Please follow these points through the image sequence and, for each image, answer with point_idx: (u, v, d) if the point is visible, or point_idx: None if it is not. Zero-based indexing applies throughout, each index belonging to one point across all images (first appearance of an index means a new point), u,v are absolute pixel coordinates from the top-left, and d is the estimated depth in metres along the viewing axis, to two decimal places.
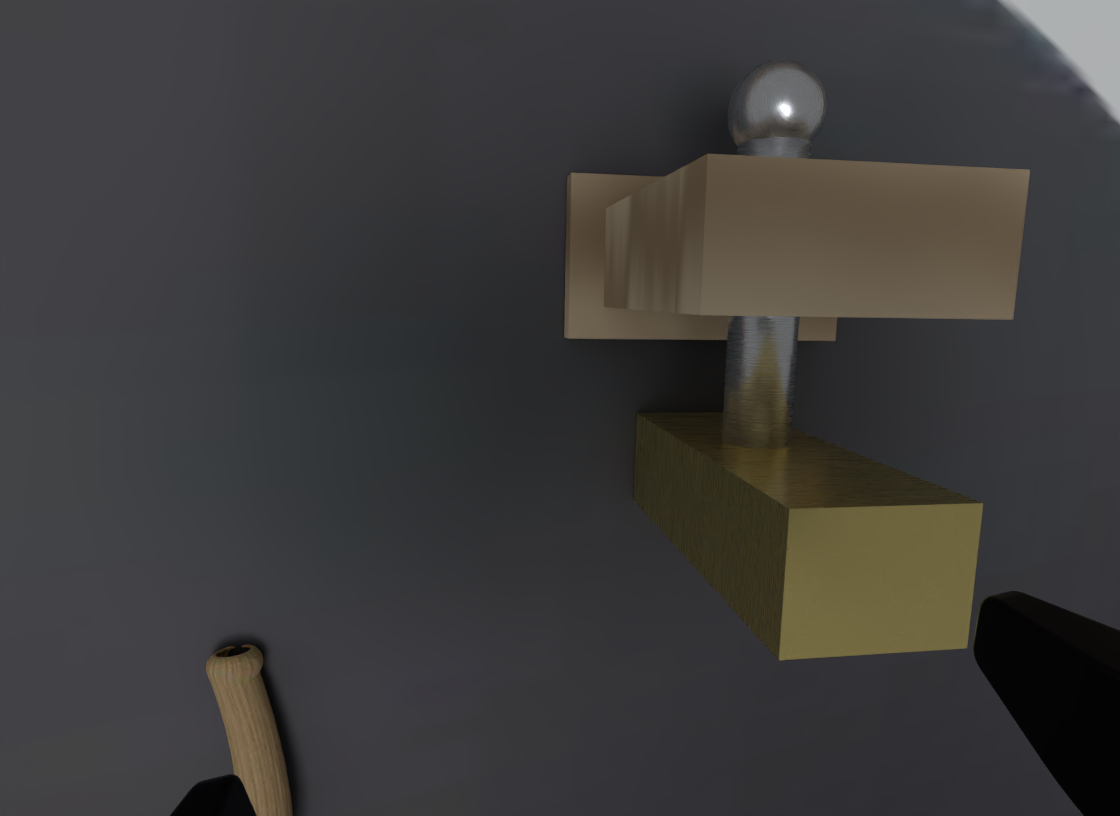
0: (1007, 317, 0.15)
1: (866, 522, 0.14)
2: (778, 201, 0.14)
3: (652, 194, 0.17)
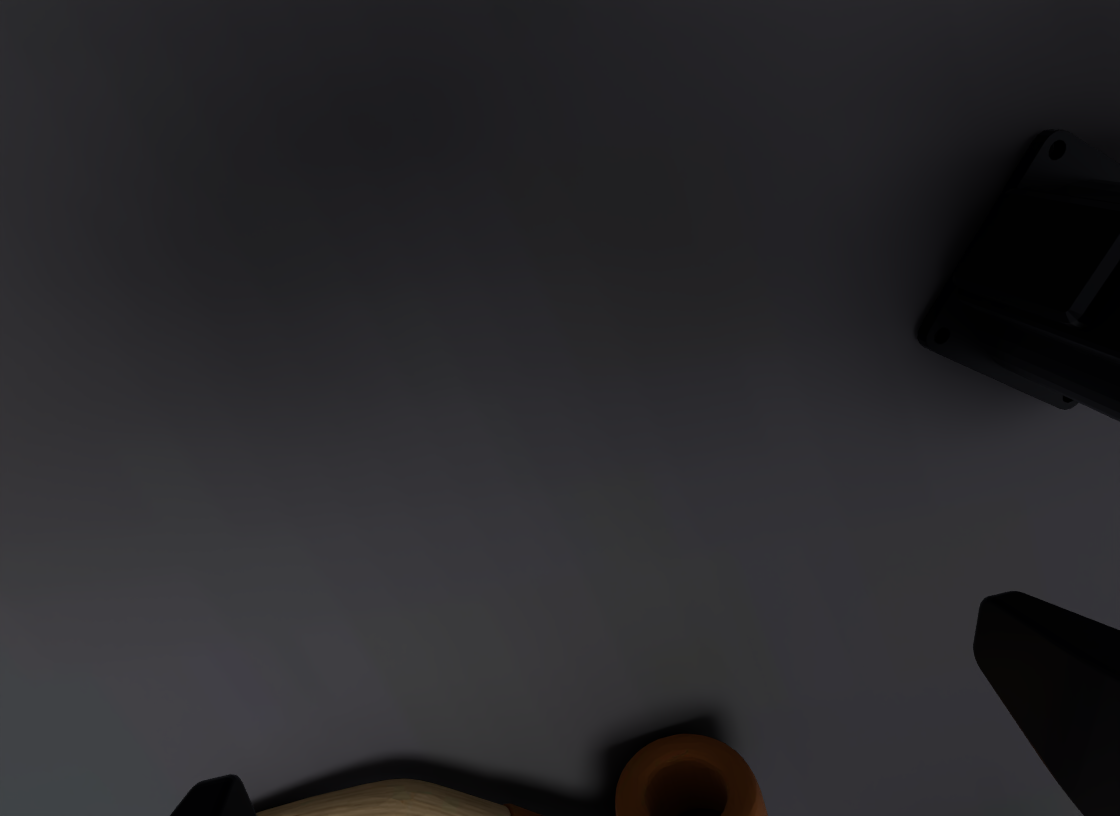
0: None
1: None
2: None
3: None
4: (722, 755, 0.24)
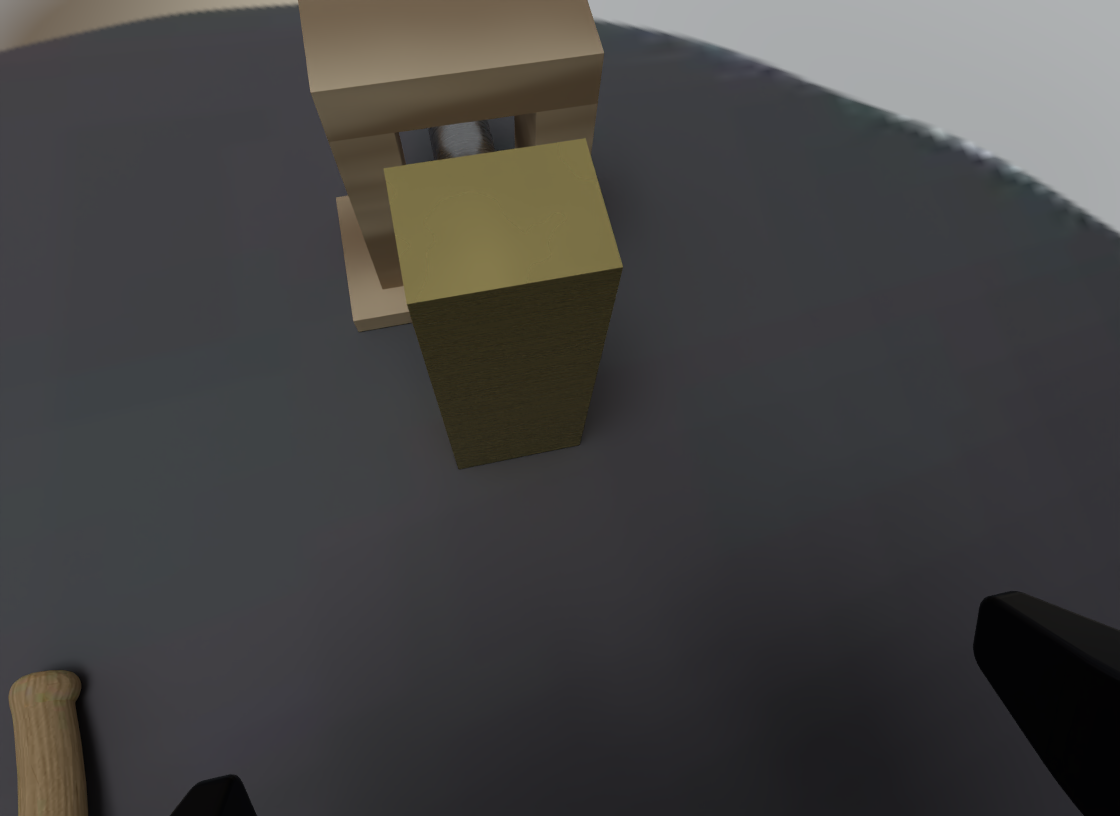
0: (597, 51, 0.17)
1: (467, 169, 0.14)
2: (364, 12, 0.17)
3: None
4: None
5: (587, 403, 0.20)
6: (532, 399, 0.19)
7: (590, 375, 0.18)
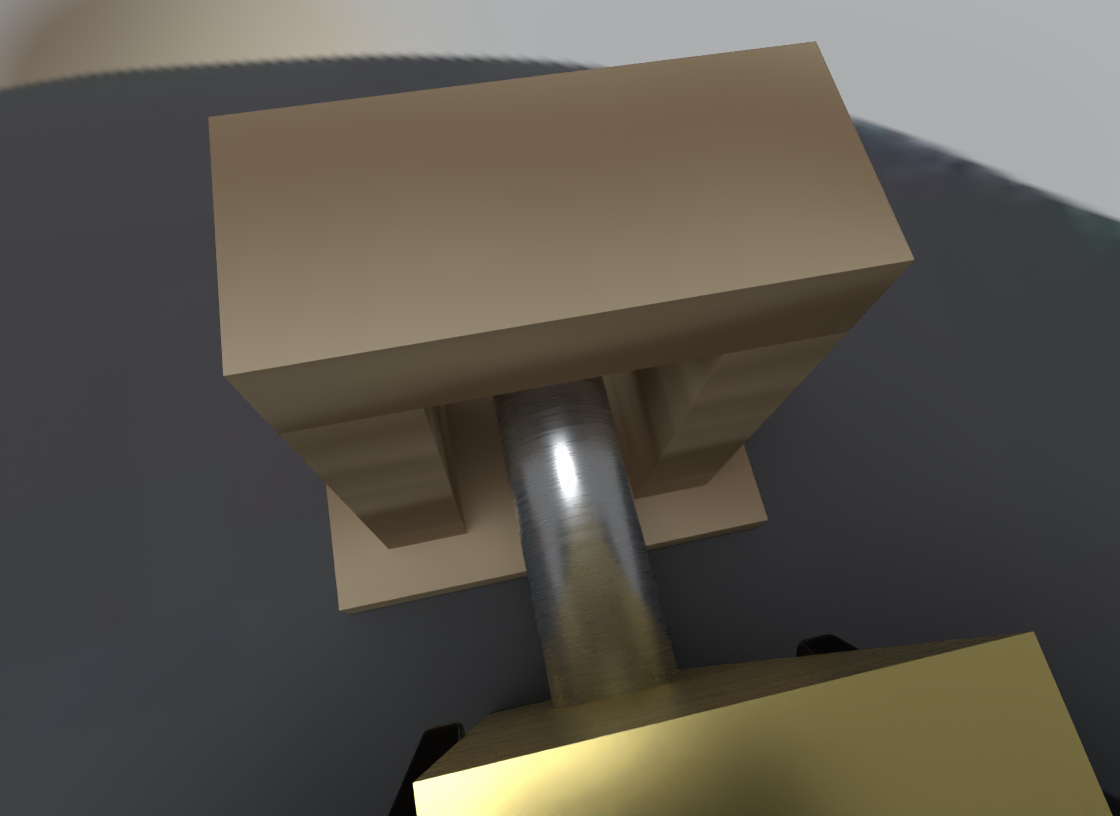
0: (899, 256, 0.07)
1: (688, 775, 0.04)
2: (359, 160, 0.07)
3: None
4: None
5: None
6: None
7: None
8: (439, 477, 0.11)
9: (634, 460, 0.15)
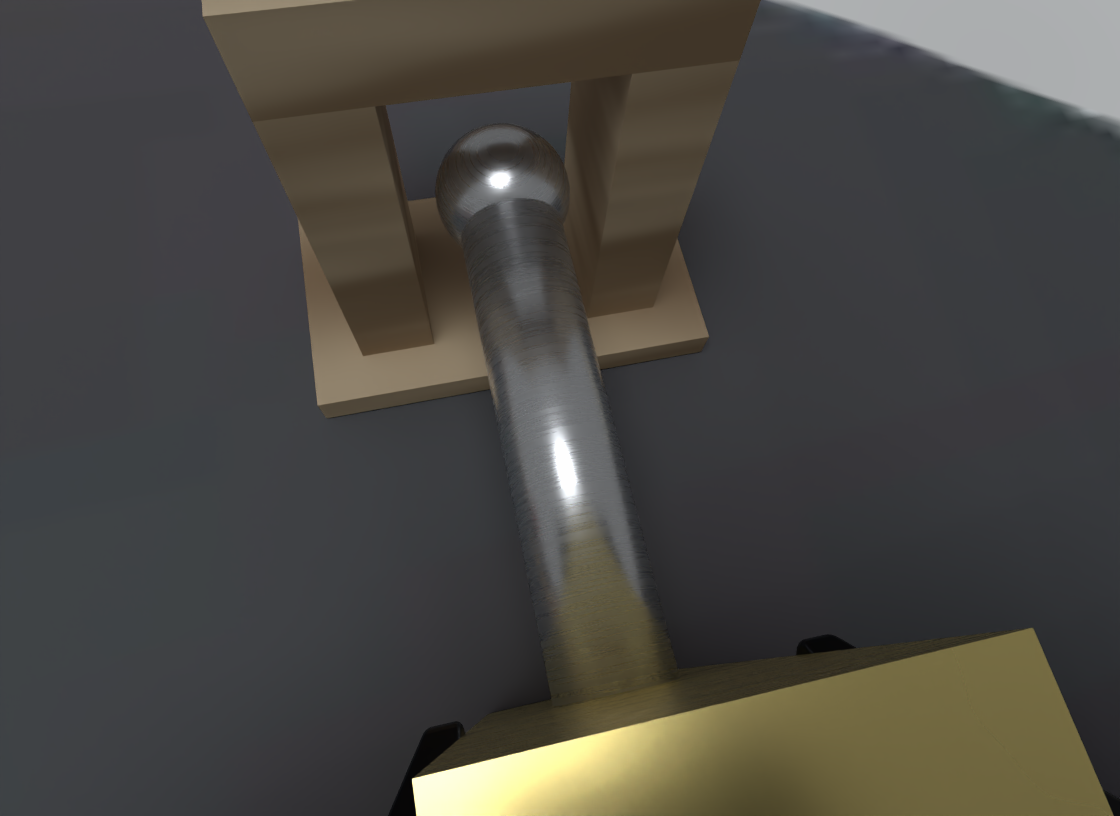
0: None
1: (688, 771, 0.04)
2: None
3: None
4: None
5: None
6: None
7: None
8: (399, 231, 0.12)
9: (585, 274, 0.16)
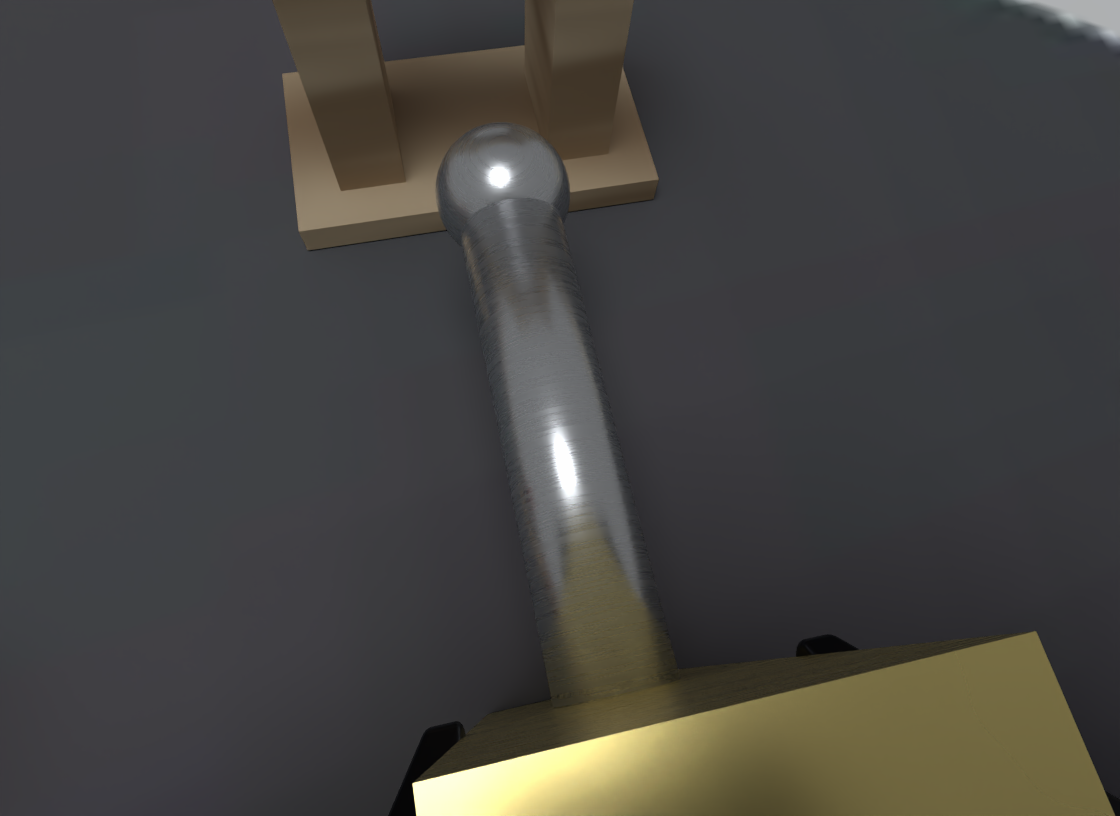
0: None
1: (689, 776, 0.04)
2: None
3: None
4: None
5: None
6: None
7: None
8: (367, 34, 0.14)
9: (544, 116, 0.18)
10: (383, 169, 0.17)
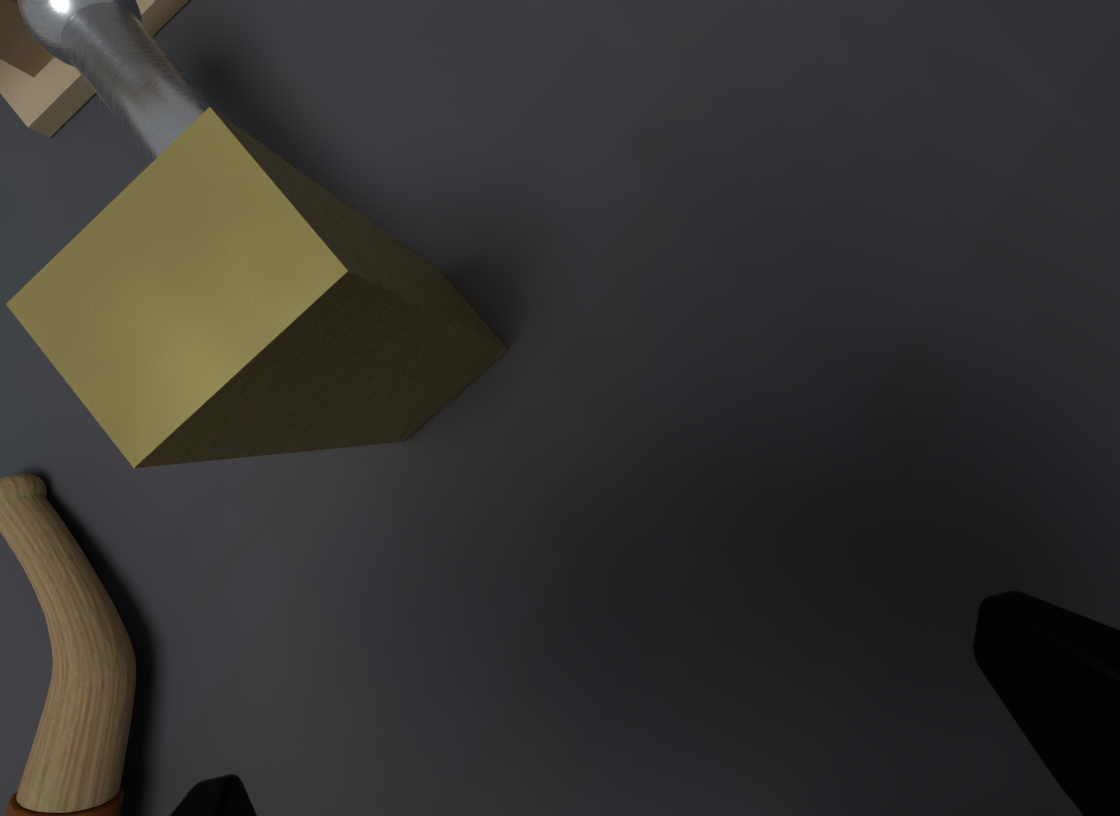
0: None
1: (98, 244, 0.10)
2: None
3: None
4: None
5: (474, 335, 0.17)
6: (407, 378, 0.16)
7: (446, 327, 0.14)
8: None
9: None
10: None
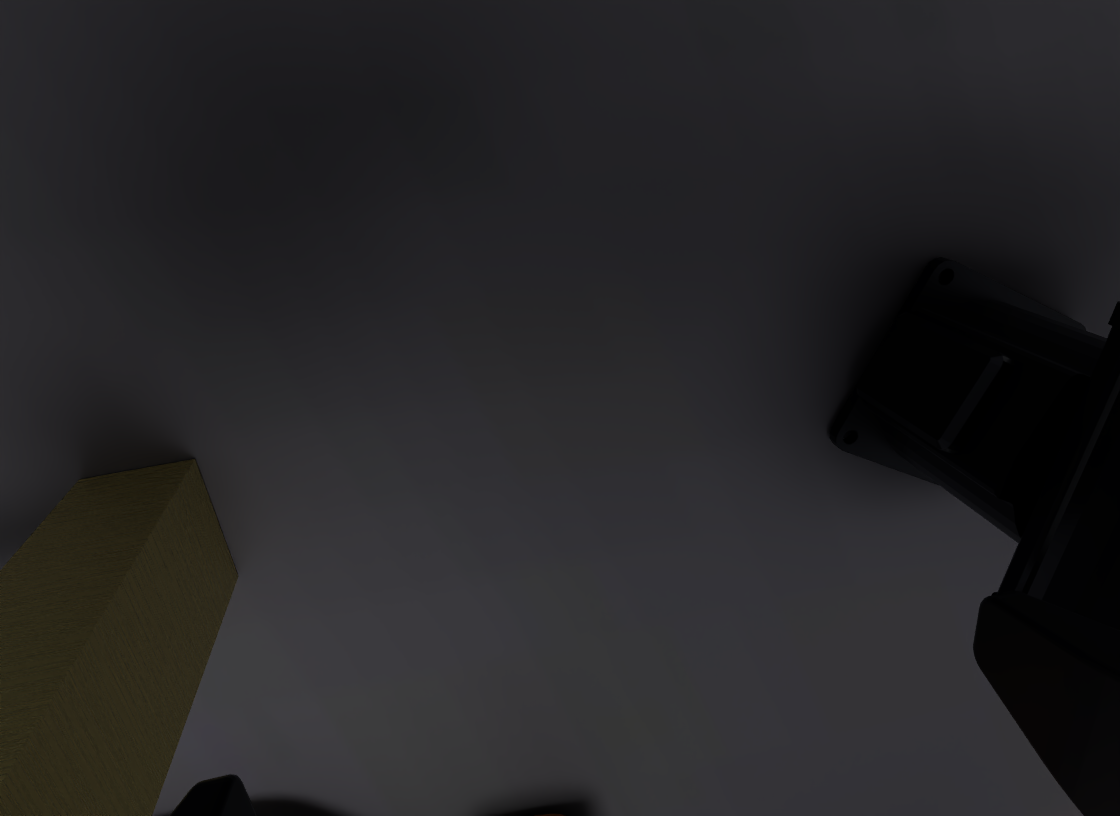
0: None
1: None
2: None
3: None
4: None
5: (149, 539, 0.16)
6: (157, 626, 0.16)
7: (117, 600, 0.14)
8: None
9: None
10: None
